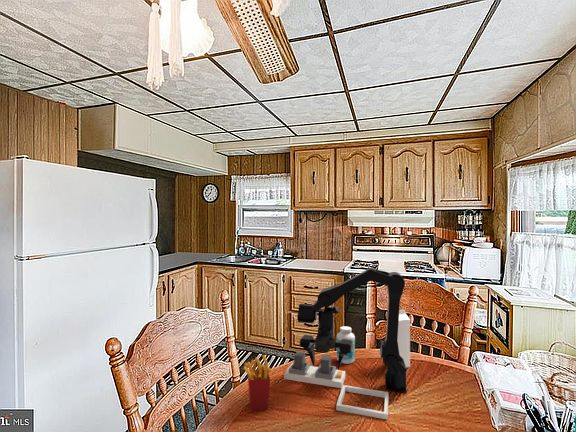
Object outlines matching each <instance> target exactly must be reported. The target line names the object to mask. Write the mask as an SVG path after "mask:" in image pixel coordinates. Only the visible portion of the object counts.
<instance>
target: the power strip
mask: <svg viewBox="0 0 576 432" xmlns="http://www.w3.org/2000/svg"><path fill="white" fill-rule="evenodd" d="M283 376H284V377H283V378H284V380H290V381H294V382H295V381H296V382H299V383H300V382H301V383H306V384H314V385H320V386H325V387H332V388H338V389H342V386H343V385H344V382H345V379H346V370H340V369H337V366H334V365H331V373H330V374H325V373H321V363H320V364H319V365H318V366H315V365H314V366H313V365H311V362H306V361H305V368H304V370H299V369H294V361H293V362H291V364H290V365H289V366H288V367H287V369H286V371H285V372H284V373H283Z"/></svg>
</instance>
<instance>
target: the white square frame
mask: <svg viewBox="0 0 576 432" xmlns="http://www.w3.org/2000/svg"><path fill="white" fill-rule="evenodd" d="M340 389H341V390H340V391H339V392H340V394H339V396H338V398H337V402H336V407H335V410H336V411H340V412H345V413H349V414H355V415H360V416H366V417H371V418H378V419H383V420H388V412H389V392H388V391H382V390H376V389H372V388H365V387H359V386H358V387H357V386H351V385H346V384H343V386H342V388H340ZM346 392H348V393H353V394H354V393H355V394H358V395H359V394H360V395H366V396H372V397H377V398H383V399H384V404H383V405H384V407H383V411H380V410H375V409H371V408H363V407H358V406H352V405H347V404H343V401H344V397H345V394H346Z"/></svg>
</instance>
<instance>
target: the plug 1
mask: <svg viewBox="0 0 576 432" xmlns="http://www.w3.org/2000/svg"><path fill="white" fill-rule="evenodd" d="M293 362H294V369H299V370H304V368H305V362H306V352H305V351H302V350H301V351H300V350H297V351H296V353H295V354H294V355H293Z"/></svg>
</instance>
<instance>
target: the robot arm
mask: <svg viewBox="0 0 576 432" xmlns="http://www.w3.org/2000/svg"><path fill="white" fill-rule="evenodd" d="M371 281H372V282H375V283H378V284H380V285H383V286H385V287H386V290H387V297H388V299H387V300H388V301H387V314H386V316H387V317H386V329H385V331H386V333H385V334H386V335H385V338H384V340H382V339H380V348H379V354H380V359H382V363H383V364H384V366H385V367H386V370H385V371H384V372H385V373H384V375H385V378H384V379H385V382H384V383H385V384H384V385H385V386H386V390H388V391H393V392H399V393H405V394H406V393H408V392H407V391H408V390H407V371H408V370H407V369H408V368H406V366H405V362H404V359H403V358H402V357H401V356H400V355H399V348H398V341H397V339H398V323H399V310H400V307H401V299H402V296H403V293H404V289H405V286H406V285H405V284H406V281H405V279H404V277H403V276H402V274H401V273H399V272H398V271H391V272H388V271H385V270H381V269H375V268H373V267H368V268H366V270H364V271H362V272H360V273H357V275H355V276H352V277H351V278H349V279H346V280H345V281H343V282H341V283H339V284H336V285H331V286H328V287H325V288H322V289H321V290H320V292H319V293H318V295H317V300H316V301H315V302H314V303H313V304H306V303H299V305H298V311H297V318H296V319H297V322H298V324H299V323H300V324H301V323H302V324H314V323H315V322H317V324H318V325H317V327H318V328H317V333H316V336H315V338H314V335H308V334H303V336H302V337H300V339H299V347H300V348H302V349H303V350H305V351H306V352H307V353H308V356H309V358H310V361H311V364H312V366H314V367H315V363H316V356H315V355H316V354H315V352H321V353H322V352H323V353H329V351H330V350H332V349H335V348H336V349H337V348H339V350H340V351H339V358H338V360H337V370H340V367H341V364H342V363H341V361H342V358H343V356H344V355H347V354H348V353H351V351H352V348H353V342H352V341H351V340H345V339H342V340H341V342H337V341H336V338H335V314H337V315H338V314H339V313H340V309H339V308H338V307H337V306H336V305H334V304H335V303H336V302H338V300H340V299H341V298H342V297H343V296H344V295H346V294H349V293H350V292H352V291H354V290H356V289H357V288H359V287H362V286H363V285H366V284H368V283H369V282H371ZM317 320H318V321H317Z"/></svg>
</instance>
